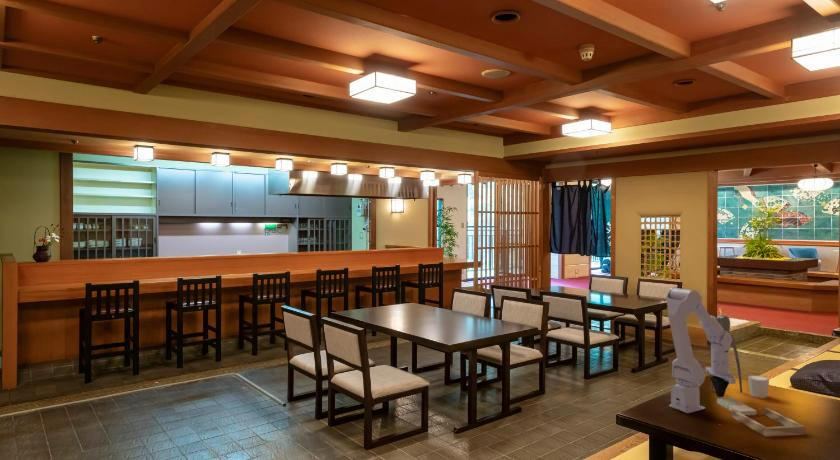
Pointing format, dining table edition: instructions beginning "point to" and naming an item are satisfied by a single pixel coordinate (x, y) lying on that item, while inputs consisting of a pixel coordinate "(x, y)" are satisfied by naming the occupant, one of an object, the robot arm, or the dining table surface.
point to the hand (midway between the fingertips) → (720, 396)
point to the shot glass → (758, 386)
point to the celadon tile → (728, 402)
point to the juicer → (725, 324)
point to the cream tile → (743, 409)
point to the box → (787, 429)
